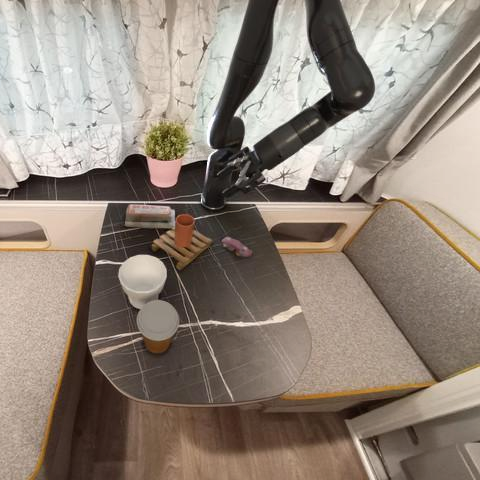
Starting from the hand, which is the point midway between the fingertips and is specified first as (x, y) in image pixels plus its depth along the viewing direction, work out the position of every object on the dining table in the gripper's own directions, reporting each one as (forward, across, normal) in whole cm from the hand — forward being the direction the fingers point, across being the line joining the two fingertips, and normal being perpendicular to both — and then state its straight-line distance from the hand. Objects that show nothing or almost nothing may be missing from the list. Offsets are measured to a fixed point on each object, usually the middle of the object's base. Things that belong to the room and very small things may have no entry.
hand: (221, 185), depth 73 cm
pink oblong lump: (+11, +2, +24) cm, 27 cm away
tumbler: (+22, -1, +10) cm, 24 cm away
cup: (+33, +19, +3) cm, 38 cm away
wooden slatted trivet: (+24, -1, +12) cm, 26 cm away
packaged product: (+32, -15, +4) cm, 35 cm away
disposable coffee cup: (+30, +32, +6) cm, 44 cm away
